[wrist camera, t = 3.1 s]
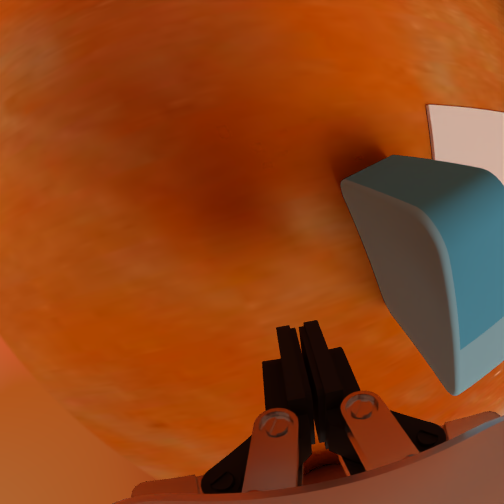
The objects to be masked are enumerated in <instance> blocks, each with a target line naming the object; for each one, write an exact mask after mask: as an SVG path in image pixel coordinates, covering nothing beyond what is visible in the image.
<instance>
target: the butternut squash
mask: <svg viewBox="0 0 504 504" xmlns="http://www.w3.org/2000/svg"><path fill="white" fill-rule="evenodd" d="M343 477H347V475H346V473H345V471H344V469H343V467H342V465H337V464H332V465H327V466H322V467H319V468H316V469H314V470H312V471H311V472H309V473H307V474H306V475H305V476H304V477H303V486H304V485H310V484H315V483H320V482H325V481H330V480H335V479H339V478H343Z"/></svg>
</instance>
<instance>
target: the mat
mask: <svg viewBox="0 0 504 504" xmlns="http://www.w3.org/2000/svg"><path fill="white" fill-rule="evenodd" d="M426 110H427V116H428V123H429V131H430V139H431V149H432V160H438V161H444V162H450V163H456V164H462V165H468V166H473V167H478V168H482V169H485V170H488V171H489V172H491V173H492V174H494V175H495V176H496V177H497V178H498V179H499V180H500V181H501V183H502V184H503V185H504V113H503V112H497V111H490V110H483V109H475V108H465V107H455V106H442V105H426Z"/></svg>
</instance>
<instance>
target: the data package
mask: <svg viewBox="0 0 504 504" xmlns="http://www.w3.org/2000/svg"><path fill="white" fill-rule="evenodd" d="M341 191H342V194H343V197H344V199H345V202H346V204H347V206H348V209H349V211H350V213H351V216H352V218H353V220H354V223H355V225H356V227H357V230H358V232H359V235H360V237H361V240H362V242H363V245H364V247H365V250H366V253H367V255H368V258H369V260H370V263H371V266H372V268H373V271H374V274H375V277H376V279H377V282H378V285H379V288H380V291H381V294H382V297H383V299H384V301H385V304H386V306H387V307H388V309H389V311H390V313H391V314H392V316H393V317H394V318H395V320H396V321H397V322H398V323H399V325H400V326H401V327H402V329H403V330H404V331H405V333H406V334H407V335H408V337H409V338H410V339H411V341H412V342H413V343H414V345H415V346H416V348H417V349H418V350H419V352H420V353H421V354H422V356H423V357H424V359H425V360H426V361H427V363H428V364H429V366H430V367H431V368H432V370H433V371H434V373H435V374H436V376H437V377H438V378H439V380H440V381H441V383H442V384H443V386H444V387H445V389H446V390H447V391H448V392H449V393H450V394H451V395H454V396H456V395H459V394H460V393H462V392H463V391H465V390H466V389H467V388H469V387H470V386H472V385H473V384H474V383H476V382H477V381H478V380H480V379H481V378H482V377H484V376H485V375H486V374H488V373H489V372H490V371H491V370H493V369H494V368H495V367H496V366H497V365H499V364H500V363H501V362H502V361H503V360H504V185H503V184H502V183H501V181H500V180H499V179H498V178H497V177H496V176H495V175H494V174H492V173H491V172H489V171H488V170H485V169H482V168H478V167H473V166H468V165H462V164H456V163H450V162H444V161H438V160H431V159H424V158H416V157H408V156H400V155H391V156H389V157H387V158H385V159H383V160H381V161H379V162H377V163H375V164H373V165H371V166H369V167H367V168H365V169H363V170H361V171H359V172H357V173H355V174H353V175H351V176H349V177H347V178H345V179H343V180H342V181H341Z"/></svg>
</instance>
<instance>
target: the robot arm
mask: <svg viewBox="0 0 504 504" xmlns="http://www.w3.org/2000/svg"><path fill="white" fill-rule="evenodd" d="M276 330H277V336H278V343H279V349H280V355H281V359H276V360H269V361H263V362H262V368H263V381H264V395H265V408H266V411H264V412H263V413H261V414H260V415H259V416H258V417H257V418H256V420H255V422H254V425H253V431H252V435H251V436H250V437H249V438H248V439H247V440H246V441H244V442H243V443H242V444H241V445H240V446H239V447H237V448H236V449H235V450H234V451H232V452H231V453H230V454H229V455H228V456H226V457H225V458H224V459H223V460H221V461H220V462H219V463H218V464H216V465H215V466H214V467H212V468H211V469H210V470H209V471H207V472H206V474H205V475H202V476H197V477H196V476H195V475H189V476H184V477H177V478H171V479H163V480H155V481H146V482H143V483H140V484H138V485H137V486H135V488H134V489H133V491H132V495H131V498H128V499H123V500H120V501H118V502H115V503H113V504H504V416H501V417H500V415H499V414H497V413H496V412H492V411H488V412H483V413H479V414H476V415H472V416H469V417H465V418H461V419H457V420H453V421H449V422H445V423H444V425H442V426H439V425H436V424H434V423H431V422H427V421H424V420H420V419H417V418H413V417H410V416H407V415H403V414H400V413H397V412H394V411H391V410H389V409H388V407H387V406H386V404H385V403H384V402H383V400H382V399H381V398H380V397H379V396H378V395H377V394H375V393H373V392H370V391H360V388H359V386H358V384H357V381H356V379H355V376H354V374H353V372H352V369H351V367H350V365H349V363H348V360H347V358H346V356H345V353H344V351H343V349H342V348H341V347H338V348H333V349H329V350H328V347H327V345H326V342H325V339H324V337H323V334H322V331H321V329H320V326H319V324H318V321H317V320H314V321H309V322H304V326H302V327H299V332H300V341H301V349H300V345H299V341H298V337H297V333H296V329H295V328H291V329H290V326H289V325H288V326H282V327H276ZM301 350H302V353H301ZM314 422H315V426H316V431H317V435H318V440H319V443H321V442H325V446H326V449H328V448H329V450H330V451H332V452H334V453H336V454H338V458H339V460H340V462H341V465H342V467H343V469H344V471H345V473H346V475H347V477H343V478H339V479H335V480H330V481H325V482H320V483H315V484H310V485H304V486H303V470H304V465H303V463H304V462H305V461H306V460H307V459H308V458H309V456H310V455H311V454H312V449H311V444H315V432H314Z"/></svg>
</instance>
